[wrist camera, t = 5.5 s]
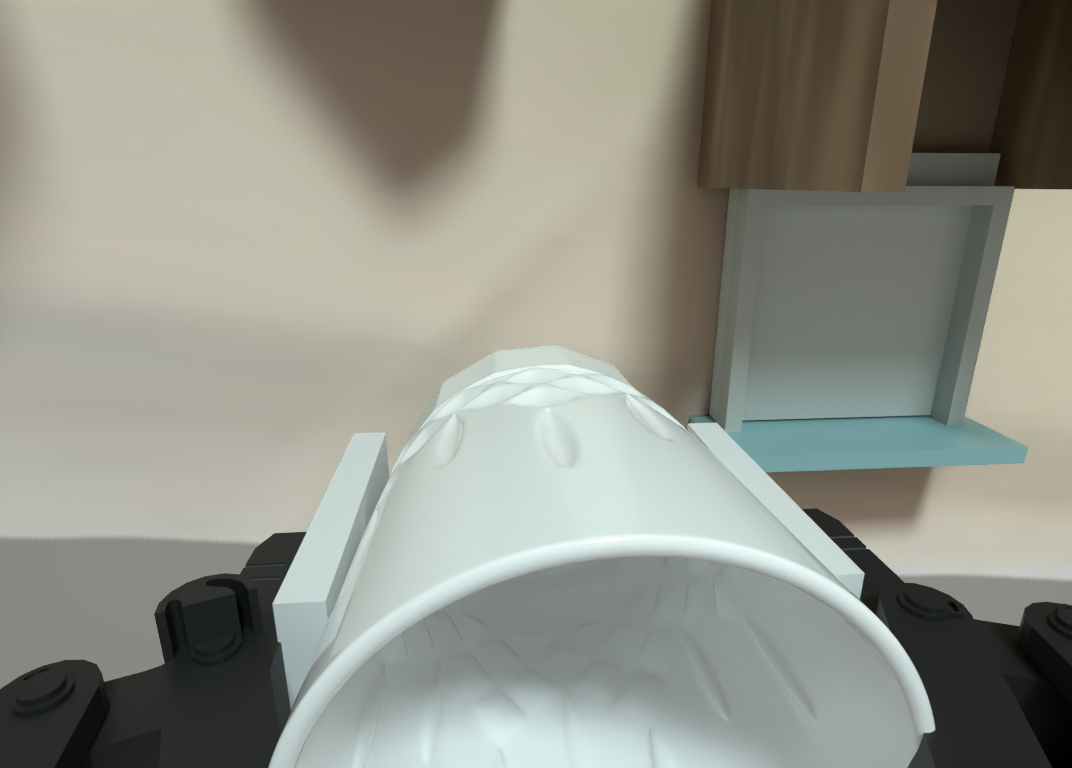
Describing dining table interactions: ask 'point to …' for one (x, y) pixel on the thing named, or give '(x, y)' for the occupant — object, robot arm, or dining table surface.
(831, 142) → the wooden drawer box
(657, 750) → the white cup
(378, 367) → the dining table surface
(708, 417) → the teal drawer
